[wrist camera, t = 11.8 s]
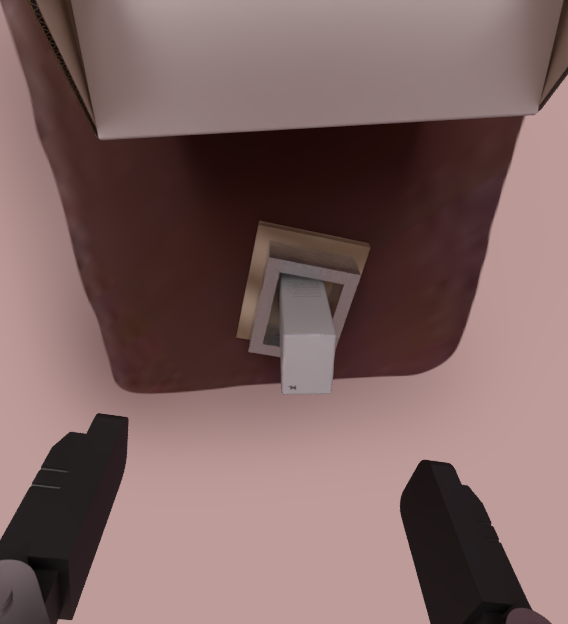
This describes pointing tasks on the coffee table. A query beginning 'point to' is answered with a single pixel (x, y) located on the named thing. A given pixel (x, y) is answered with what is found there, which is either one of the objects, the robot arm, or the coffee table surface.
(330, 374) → the skincare box
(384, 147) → the coffee table surface
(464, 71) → the gable box
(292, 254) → the duct collar
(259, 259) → the birch board
